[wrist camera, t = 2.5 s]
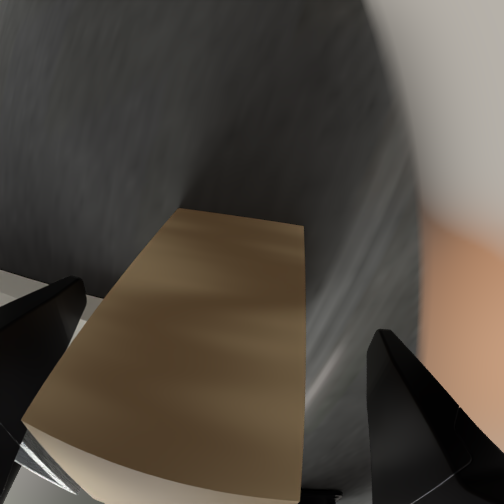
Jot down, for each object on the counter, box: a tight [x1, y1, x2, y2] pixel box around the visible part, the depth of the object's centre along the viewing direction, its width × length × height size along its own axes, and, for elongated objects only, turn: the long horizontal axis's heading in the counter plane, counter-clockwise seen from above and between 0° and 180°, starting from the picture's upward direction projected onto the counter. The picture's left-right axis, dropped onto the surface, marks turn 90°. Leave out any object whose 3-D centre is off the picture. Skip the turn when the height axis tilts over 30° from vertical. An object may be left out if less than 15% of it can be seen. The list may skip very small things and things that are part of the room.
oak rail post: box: [21, 208, 306, 504], centre depth 8 cm, size 4×4×8 cm
